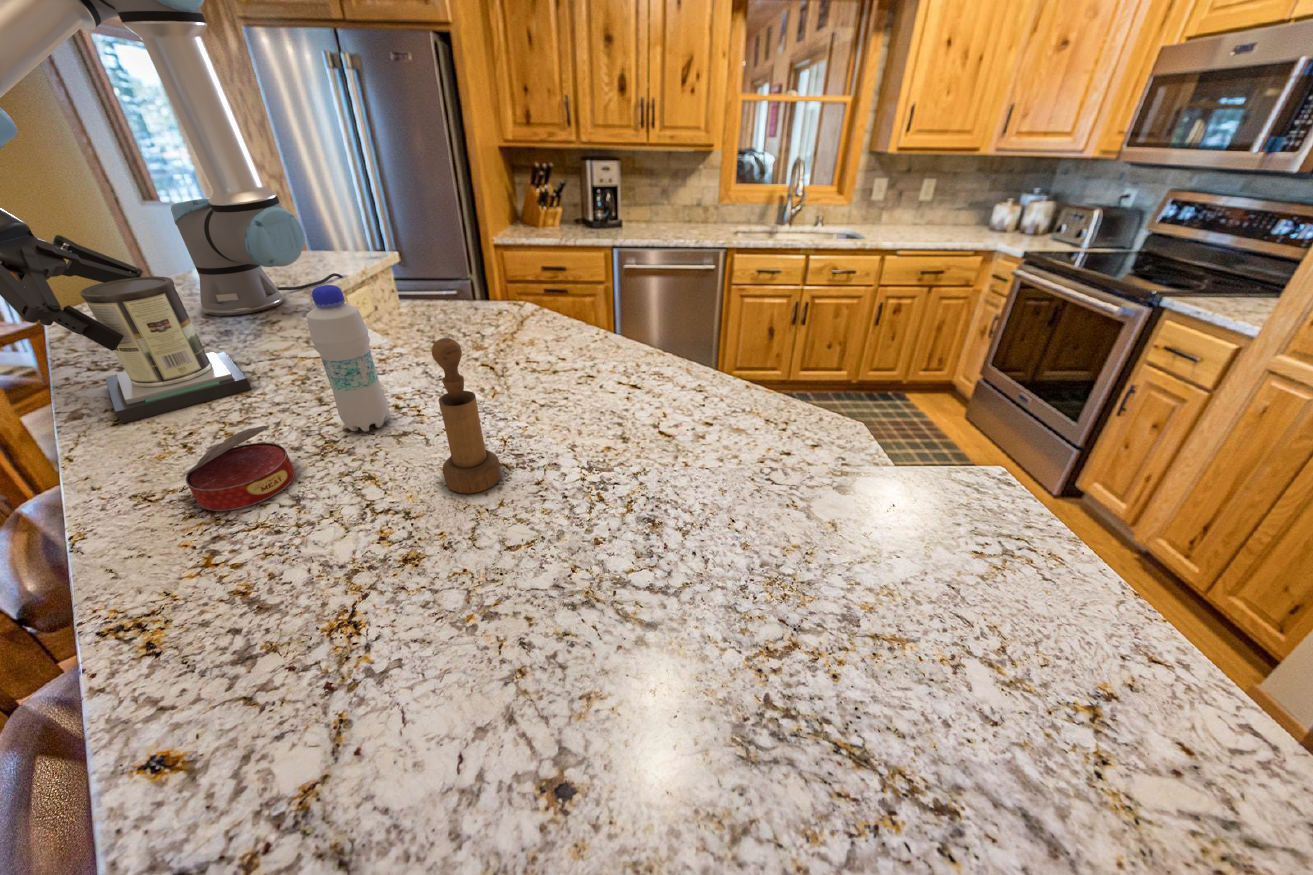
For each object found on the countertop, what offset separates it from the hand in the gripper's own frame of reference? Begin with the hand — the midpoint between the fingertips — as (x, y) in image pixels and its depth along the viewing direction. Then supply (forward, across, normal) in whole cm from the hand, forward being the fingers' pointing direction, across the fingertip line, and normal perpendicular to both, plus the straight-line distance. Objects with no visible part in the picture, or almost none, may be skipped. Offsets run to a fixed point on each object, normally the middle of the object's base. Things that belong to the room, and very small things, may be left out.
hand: (150, 327), depth 81 cm
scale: (+7, 0, -7) cm, 10 cm away
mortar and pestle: (+43, +32, +28) cm, 61 cm away
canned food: (+24, +30, +10) cm, 40 cm away
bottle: (+31, +16, +16) cm, 39 cm away
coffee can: (+6, 0, -6) cm, 8 cm away
